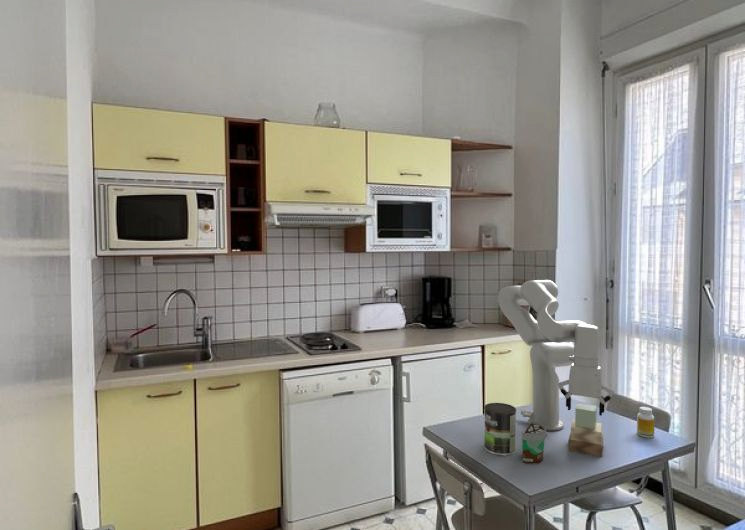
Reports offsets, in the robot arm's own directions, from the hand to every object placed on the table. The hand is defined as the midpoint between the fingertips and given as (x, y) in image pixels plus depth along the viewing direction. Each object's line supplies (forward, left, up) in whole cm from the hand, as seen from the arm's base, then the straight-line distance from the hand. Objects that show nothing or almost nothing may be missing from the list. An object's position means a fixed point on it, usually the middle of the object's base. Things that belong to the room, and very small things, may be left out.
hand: (584, 411), depth 154 cm
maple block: (+1, 0, -9) cm, 8 cm away
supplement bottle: (+18, +22, -12) cm, 31 cm away
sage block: (0, 0, -4) cm, 4 cm away
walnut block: (+1, 0, -13) cm, 12 cm away
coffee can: (-25, -15, -12) cm, 32 cm away
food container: (-13, -17, -12) cm, 25 cm away
